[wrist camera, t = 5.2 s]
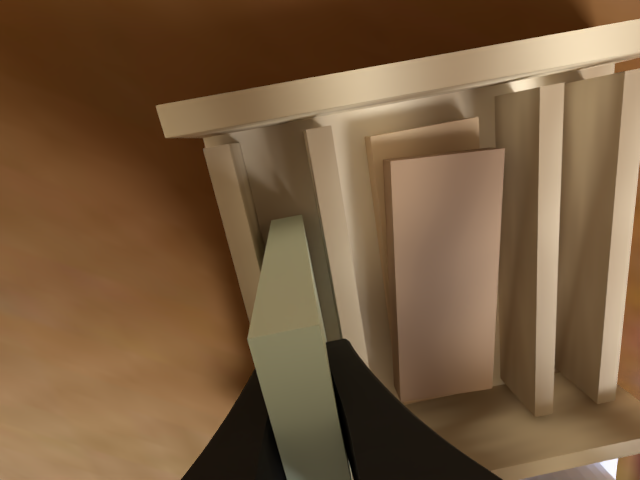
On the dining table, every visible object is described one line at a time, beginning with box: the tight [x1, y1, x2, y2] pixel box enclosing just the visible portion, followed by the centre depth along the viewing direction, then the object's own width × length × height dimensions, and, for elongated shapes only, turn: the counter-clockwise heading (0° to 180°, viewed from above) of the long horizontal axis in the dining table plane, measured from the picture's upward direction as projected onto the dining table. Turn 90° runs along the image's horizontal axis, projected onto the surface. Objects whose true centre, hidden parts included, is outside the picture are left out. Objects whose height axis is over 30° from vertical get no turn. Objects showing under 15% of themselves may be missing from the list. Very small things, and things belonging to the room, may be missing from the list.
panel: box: [247, 214, 353, 480], centre depth 10 cm, size 1×7×8 cm, turn 10°
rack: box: [155, 19, 640, 480], centre depth 13 cm, size 16×16×5 cm
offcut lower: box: [365, 117, 480, 405], centre depth 14 cm, size 4×12×1 cm, turn 10°
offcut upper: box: [383, 148, 505, 402], centre depth 14 cm, size 4×10×1 cm, turn 6°
